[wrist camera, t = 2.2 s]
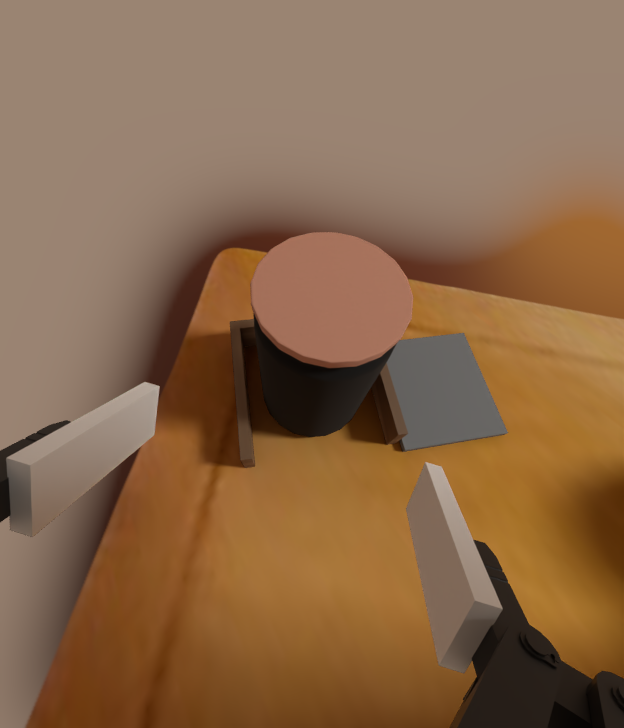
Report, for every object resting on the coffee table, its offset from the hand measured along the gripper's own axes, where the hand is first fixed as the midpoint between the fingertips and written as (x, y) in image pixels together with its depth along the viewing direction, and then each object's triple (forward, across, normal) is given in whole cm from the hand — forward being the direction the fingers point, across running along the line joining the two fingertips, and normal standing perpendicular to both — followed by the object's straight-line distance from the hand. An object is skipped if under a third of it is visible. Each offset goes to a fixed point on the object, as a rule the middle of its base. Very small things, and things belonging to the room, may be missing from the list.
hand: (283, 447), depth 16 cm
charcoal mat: (+24, +14, -2) cm, 28 cm away
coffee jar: (+21, 0, -6) cm, 22 cm away
